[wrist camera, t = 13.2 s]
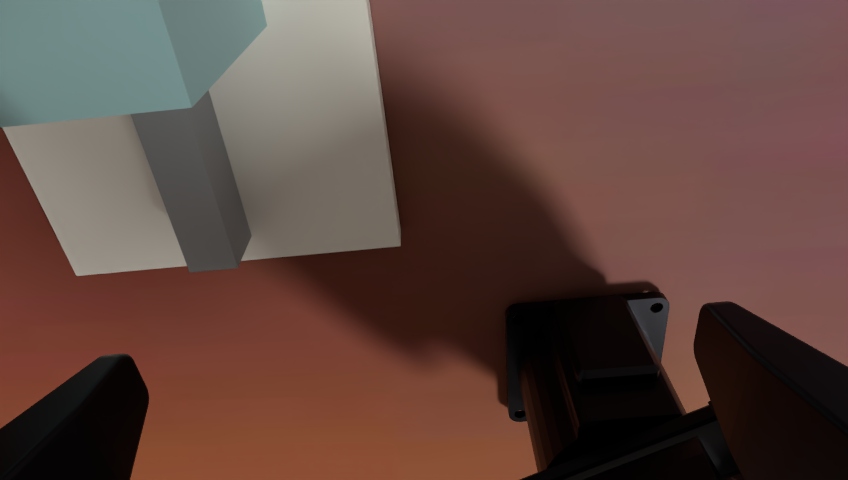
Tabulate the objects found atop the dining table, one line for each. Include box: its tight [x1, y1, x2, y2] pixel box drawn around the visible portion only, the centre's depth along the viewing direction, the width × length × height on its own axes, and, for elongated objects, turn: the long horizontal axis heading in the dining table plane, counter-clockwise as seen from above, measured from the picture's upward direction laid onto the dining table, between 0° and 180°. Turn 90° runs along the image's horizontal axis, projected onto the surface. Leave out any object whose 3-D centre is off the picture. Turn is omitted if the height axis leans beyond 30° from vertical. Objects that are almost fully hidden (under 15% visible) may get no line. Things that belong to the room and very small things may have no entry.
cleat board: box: [2, 0, 401, 276], centre depth 16 cm, size 18×12×4 cm, turn 6°
